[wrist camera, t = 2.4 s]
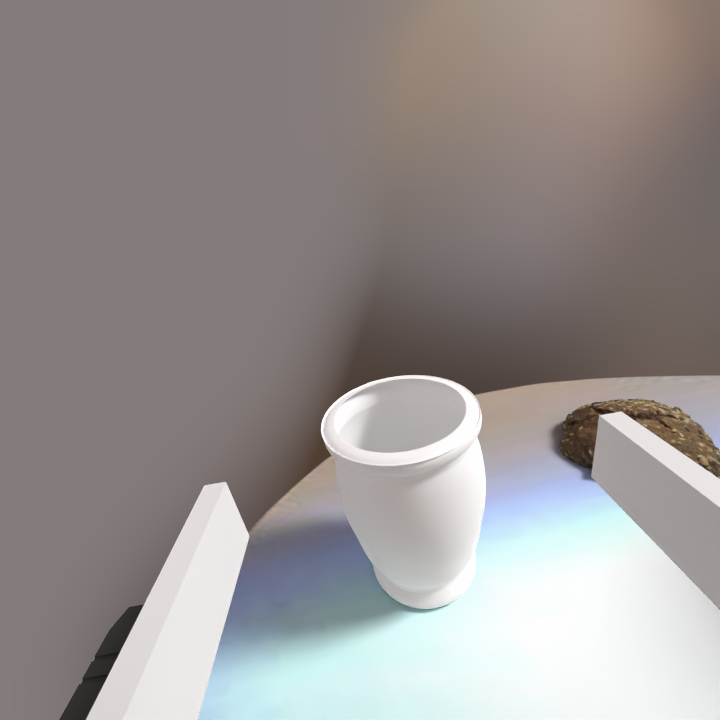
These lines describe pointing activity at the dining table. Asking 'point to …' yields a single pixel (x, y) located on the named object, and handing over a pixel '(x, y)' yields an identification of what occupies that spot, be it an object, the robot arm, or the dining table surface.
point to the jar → (411, 482)
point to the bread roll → (649, 415)
